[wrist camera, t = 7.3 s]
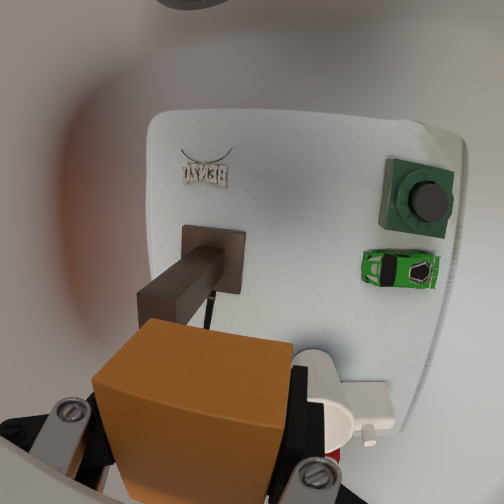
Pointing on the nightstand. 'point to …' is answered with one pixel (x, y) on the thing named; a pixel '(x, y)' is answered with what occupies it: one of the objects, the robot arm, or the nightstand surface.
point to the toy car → (399, 268)
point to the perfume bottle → (370, 408)
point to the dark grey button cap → (429, 202)
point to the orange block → (195, 413)
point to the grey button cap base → (398, 197)
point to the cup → (328, 397)
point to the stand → (194, 275)
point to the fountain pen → (209, 309)
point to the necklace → (205, 172)
